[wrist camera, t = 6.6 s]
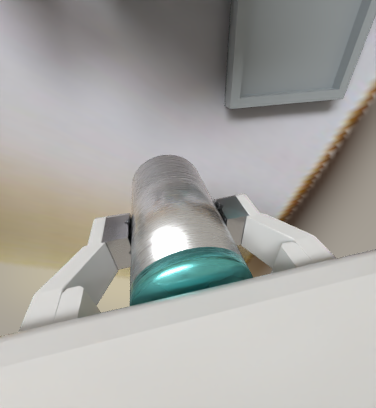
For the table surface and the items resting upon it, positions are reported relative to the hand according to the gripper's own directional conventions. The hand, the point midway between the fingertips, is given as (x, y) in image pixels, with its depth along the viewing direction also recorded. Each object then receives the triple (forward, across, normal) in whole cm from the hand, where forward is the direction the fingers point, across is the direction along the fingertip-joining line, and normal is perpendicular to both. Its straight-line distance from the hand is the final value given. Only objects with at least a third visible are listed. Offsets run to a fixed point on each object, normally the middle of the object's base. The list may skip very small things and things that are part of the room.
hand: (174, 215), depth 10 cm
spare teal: (+3, 0, 0) cm, 3 cm away
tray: (+12, -12, -8) cm, 19 cm away
